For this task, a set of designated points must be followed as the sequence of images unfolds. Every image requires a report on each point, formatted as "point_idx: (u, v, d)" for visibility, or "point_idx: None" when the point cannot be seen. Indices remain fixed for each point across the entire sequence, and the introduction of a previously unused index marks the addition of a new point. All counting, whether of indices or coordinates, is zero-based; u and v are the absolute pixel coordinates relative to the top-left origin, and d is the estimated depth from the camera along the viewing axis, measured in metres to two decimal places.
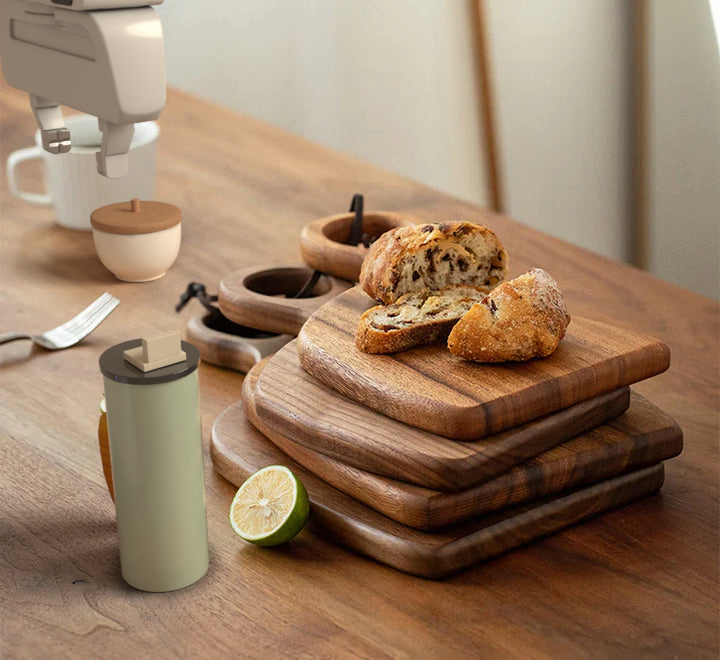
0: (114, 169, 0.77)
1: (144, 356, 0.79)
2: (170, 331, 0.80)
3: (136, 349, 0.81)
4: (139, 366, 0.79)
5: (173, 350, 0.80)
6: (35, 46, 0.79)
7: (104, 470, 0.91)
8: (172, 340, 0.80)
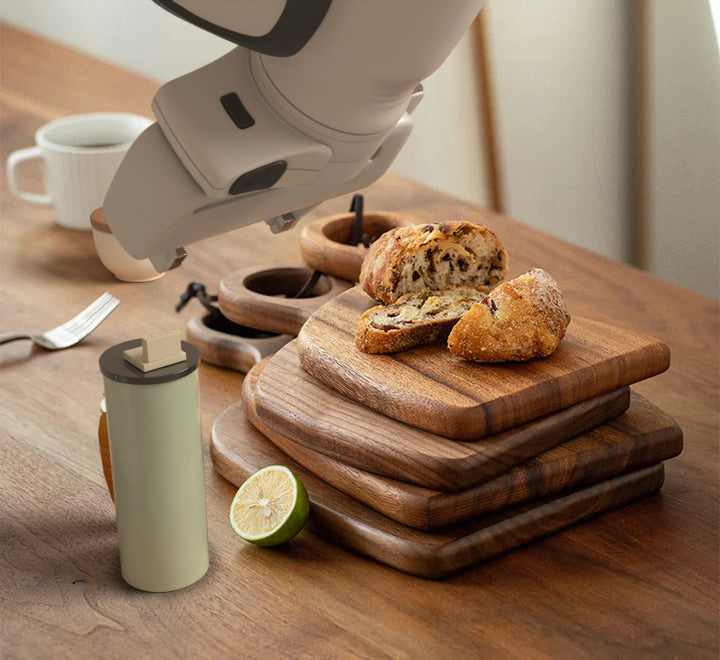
0: (153, 255, 0.66)
1: (144, 356, 0.79)
2: (170, 331, 0.80)
3: (136, 349, 0.81)
4: (139, 366, 0.79)
5: (173, 350, 0.80)
6: None
7: (104, 470, 0.91)
8: (172, 340, 0.80)
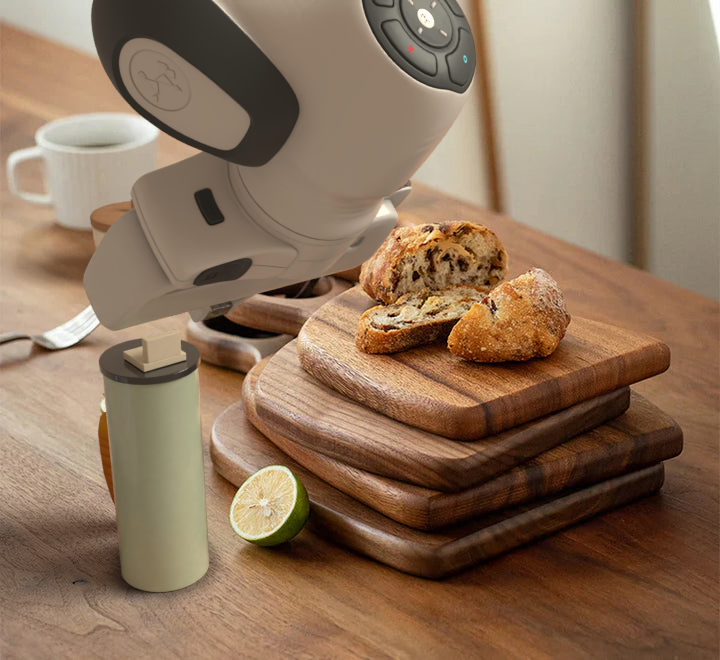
0: None
1: (144, 356, 0.79)
2: (170, 331, 0.80)
3: (136, 349, 0.81)
4: (139, 366, 0.79)
5: (173, 350, 0.80)
6: None
7: (104, 470, 0.91)
8: (172, 340, 0.80)
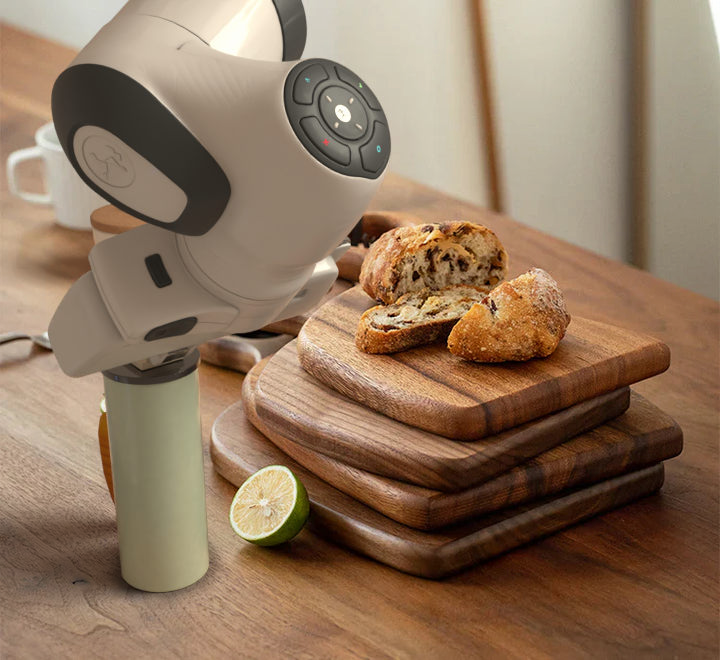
0: None
1: None
2: None
3: None
4: (137, 364, 0.80)
5: None
6: None
7: (104, 470, 0.91)
8: None
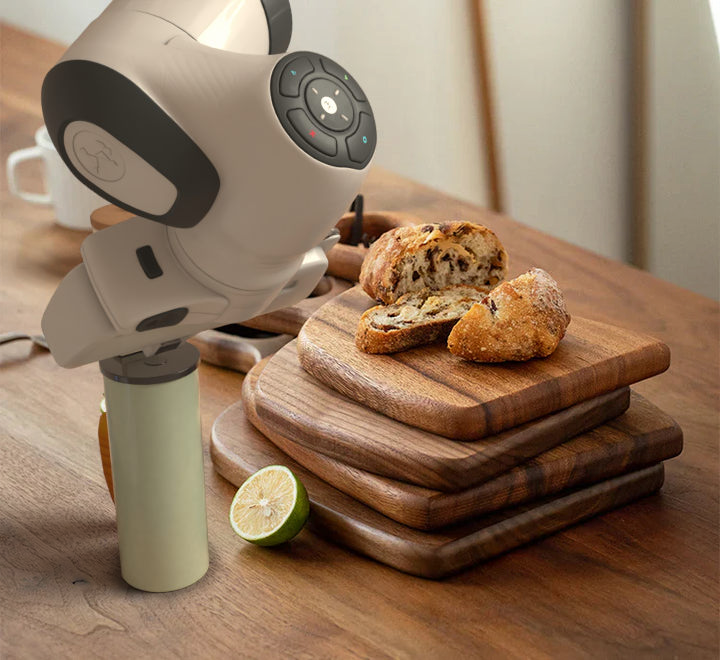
0: None
1: None
2: None
3: None
4: None
5: None
6: None
7: (104, 470, 0.91)
8: None
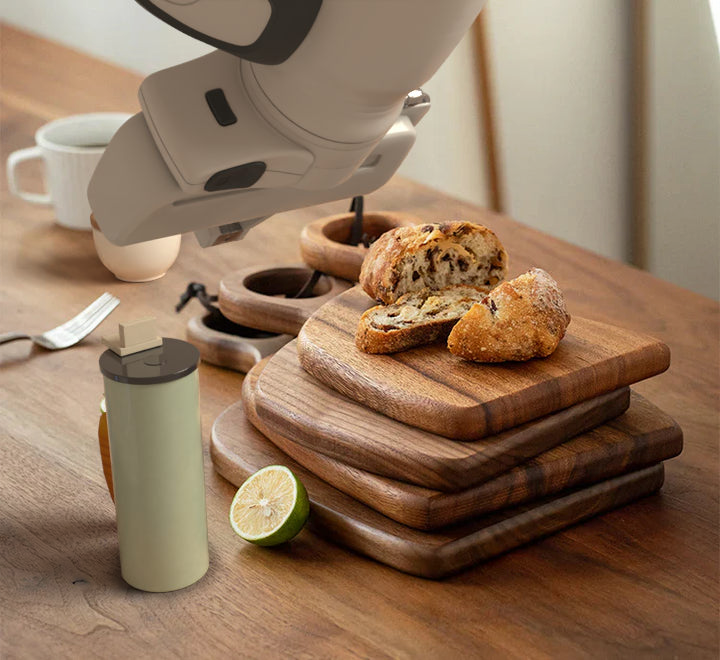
0: (199, 230, 0.68)
1: (121, 341, 0.82)
2: (146, 317, 0.83)
3: (114, 334, 0.84)
4: (116, 350, 0.82)
5: (149, 335, 0.83)
6: None
7: (104, 470, 0.91)
8: (148, 325, 0.82)
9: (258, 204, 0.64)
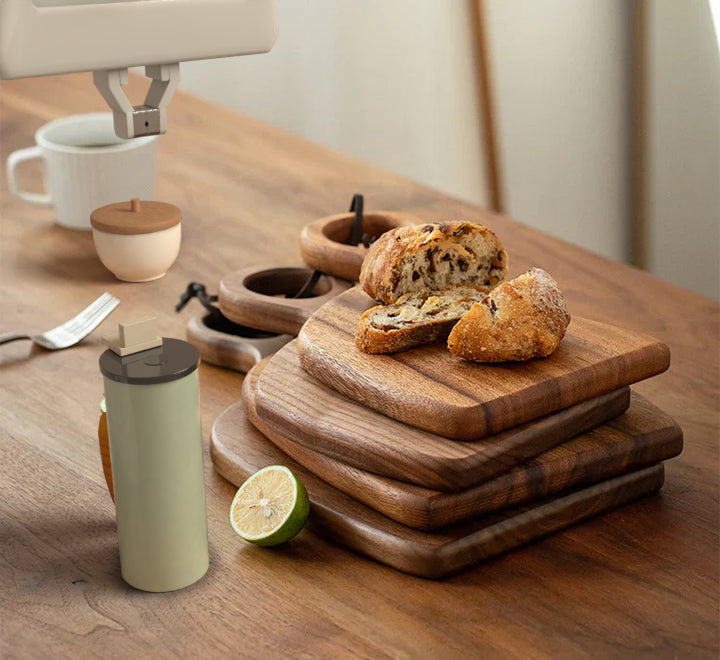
0: (118, 127, 0.69)
1: (121, 341, 0.82)
2: (146, 317, 0.83)
3: (114, 334, 0.84)
4: (116, 350, 0.82)
5: (149, 335, 0.83)
6: None
7: (104, 470, 0.91)
8: (148, 325, 0.82)
9: (137, 31, 0.66)
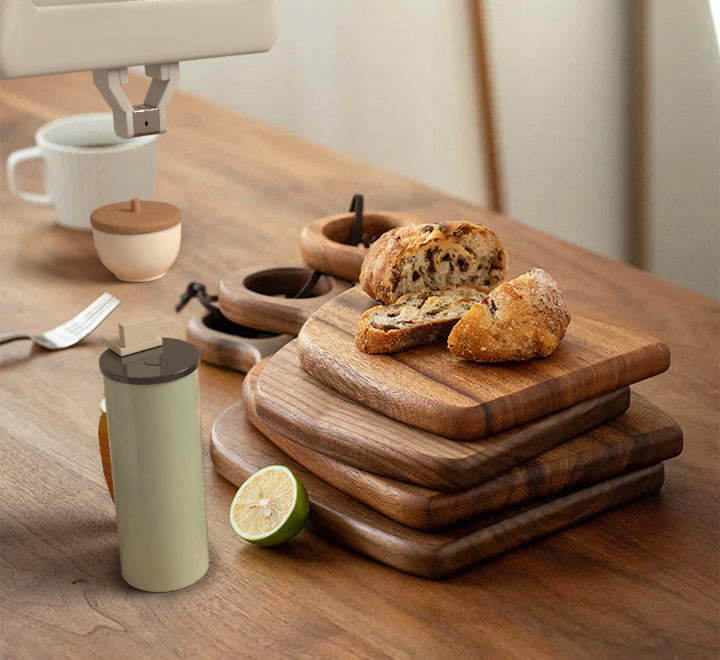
0: (118, 126, 0.69)
1: (121, 341, 0.82)
2: (146, 317, 0.83)
3: (114, 334, 0.84)
4: (116, 350, 0.82)
5: (149, 335, 0.83)
6: None
7: (104, 470, 0.91)
8: (148, 325, 0.82)
9: (136, 30, 0.66)
